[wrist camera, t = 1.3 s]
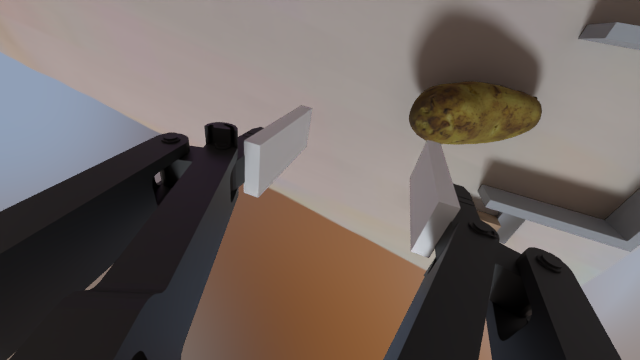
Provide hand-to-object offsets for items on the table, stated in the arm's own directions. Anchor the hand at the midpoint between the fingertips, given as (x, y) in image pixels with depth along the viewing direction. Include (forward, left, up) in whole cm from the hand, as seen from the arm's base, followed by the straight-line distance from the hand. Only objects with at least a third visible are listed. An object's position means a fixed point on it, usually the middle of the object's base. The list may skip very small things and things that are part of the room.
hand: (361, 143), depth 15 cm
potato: (0, +10, -20) cm, 23 cm away
